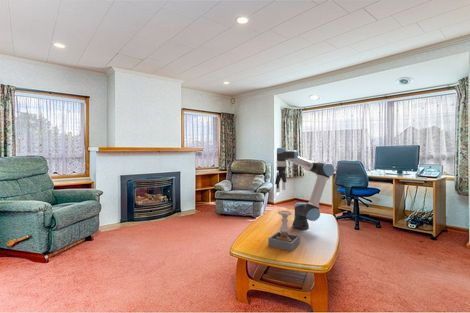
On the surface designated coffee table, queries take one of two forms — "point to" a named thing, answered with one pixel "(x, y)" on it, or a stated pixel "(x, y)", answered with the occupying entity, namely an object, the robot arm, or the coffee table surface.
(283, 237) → the candle holder
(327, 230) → the coffee table surface
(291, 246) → the walled bin
